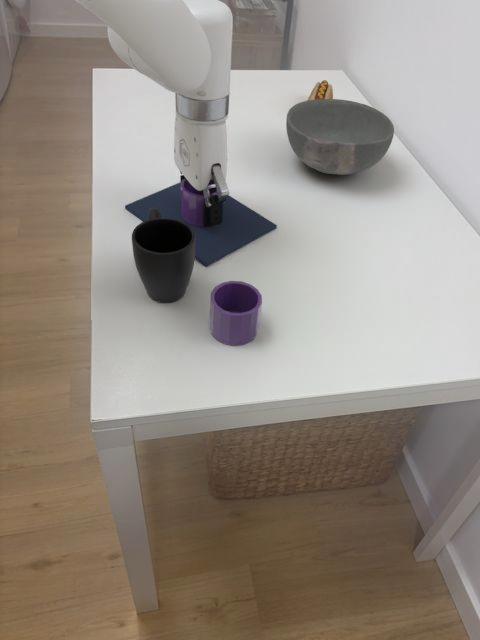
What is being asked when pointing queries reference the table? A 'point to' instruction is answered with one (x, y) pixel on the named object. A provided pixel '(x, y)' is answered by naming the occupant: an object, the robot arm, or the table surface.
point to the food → (321, 91)
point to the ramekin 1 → (193, 203)
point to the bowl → (338, 135)
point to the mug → (164, 256)
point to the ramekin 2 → (235, 312)
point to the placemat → (212, 240)
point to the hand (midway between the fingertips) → (200, 209)
